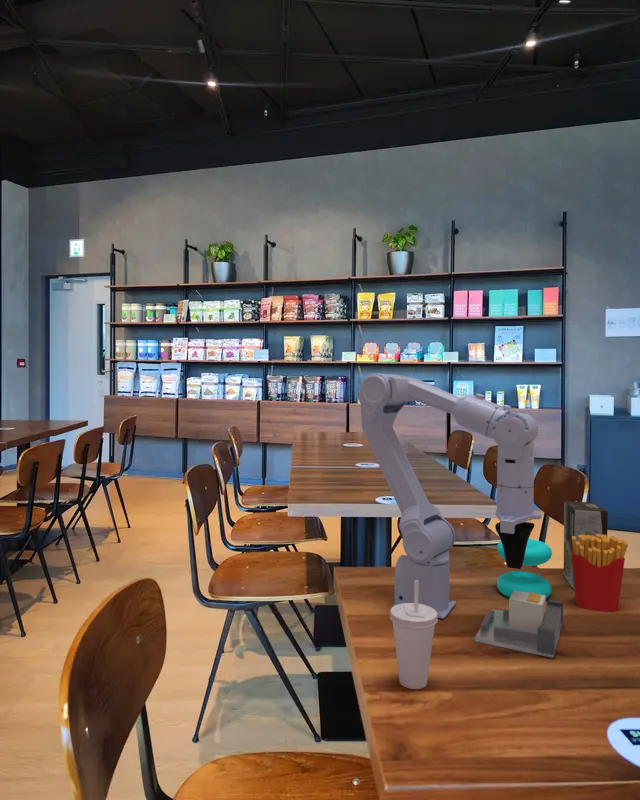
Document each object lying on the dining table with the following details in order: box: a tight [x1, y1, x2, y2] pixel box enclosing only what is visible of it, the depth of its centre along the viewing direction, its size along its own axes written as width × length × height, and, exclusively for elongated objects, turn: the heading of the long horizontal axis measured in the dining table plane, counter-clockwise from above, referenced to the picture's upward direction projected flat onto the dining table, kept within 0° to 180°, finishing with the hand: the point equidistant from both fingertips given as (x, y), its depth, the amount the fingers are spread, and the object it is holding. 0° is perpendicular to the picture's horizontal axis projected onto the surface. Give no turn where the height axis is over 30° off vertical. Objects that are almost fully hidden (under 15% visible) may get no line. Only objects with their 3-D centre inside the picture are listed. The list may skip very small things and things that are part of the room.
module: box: [508, 590, 547, 634], centre depth 91 cm, size 5×4×6 cm
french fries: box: [571, 534, 629, 613], centre depth 103 cm, size 9×4×13 cm, turn 73°
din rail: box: [474, 598, 565, 659], centre depth 92 cm, size 12×14×4 cm
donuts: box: [496, 538, 553, 599], centre depth 110 cm, size 10×10×10 cm
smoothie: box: [389, 580, 439, 690], centre depth 77 cm, size 6×6×14 cm
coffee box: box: [563, 501, 609, 590], centre depth 115 cm, size 9×6×16 cm
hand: (514, 567), depth 93 cm, fingers closed
